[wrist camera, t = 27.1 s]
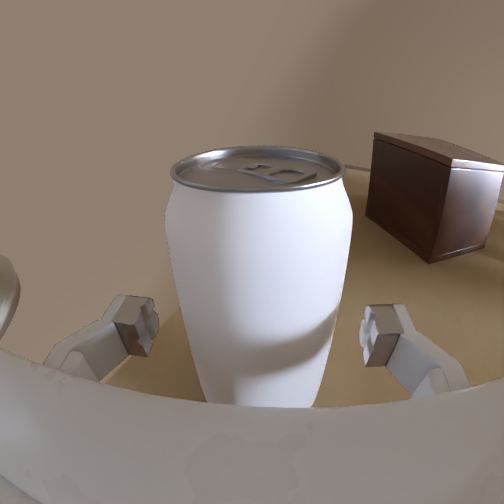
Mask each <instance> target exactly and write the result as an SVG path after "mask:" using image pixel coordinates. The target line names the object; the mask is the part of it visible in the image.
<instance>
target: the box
mask: <svg viewBox="0 0 504 504" xmlns="http://www.w3.org/2000/svg"><path fill="white" fill-rule="evenodd" d="M502 177H503V172H500V171H491V170H481V169H469V168H456V167H449V166H447V165H445V164H442V163H440V162H438V161H435V160H433V159H430V158H428V157H425V156H423V155H420V154H418V153H415V152H412V151H410V150H407V149H404V148H401V147H399V146H396V145H393V144H390V143H387V142H384V141H381V140H378V139H374V141H373V153H372V164H371V174H370V183H369V192H368V200H367V207H366V214H365V215H366V216H368V217H369V218H370V219H372V220H373V221H374V222H376V223H377V224H378V225H380V226H381V227H382V228H384V229H385V230H386V231H388V232H389V233H390V234H392V235H393V236H394V237H396V238H397V239H398V240H399V241H401V242H402V243H403V244H404V245H406V246H407V247H408V248H409V249H411V250H412V251H413V252H414V253H416V254H417V255H418V256H419V257H421V258H422V259H423V260H424V261H425V262H427V263H428V264H430V263H434V262H437V261H441V260H444V259H448V258H451V257H455V256H458V255H461V254H465V253H468V252H471V251H475V250H478V249H481V248H484V246H485V242H486V240H487V236H488V233H489V230H490V226H491V223H492V219H493V216H494V212H495V208H496V204H497V200H498V196H499V192H500V187H501V182H502Z"/></svg>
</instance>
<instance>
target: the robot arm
mask: <svg viewBox="0 0 504 504" xmlns="http://www.w3.org/2000/svg"><path fill="white" fill-rule="evenodd" d="M154 307H155V305H154V302H153V299H151V298H147V297H138V296H127V295H117V296H116V297H115V298H114V300H113V301H112V303H111V304H110V306H109V307H108V309H107V310H106V312H105V314H104V315H103V317H102V318H101V320H96V321H94V322H93V323H91V324H89V325H88V326H86V327H84V328H82V329H81V330H79V331H78V332H76V333H74V334H72V335H71V336H69V337H68V338H66V339H64V340H63V341H61V342H59V343H57V344H56V345H55V346H54V347H53V349H52V350H51V352H50V353H49V355H48V357H47V358H46V360H45V361H44V363H43V365H41V364H38V363H35V362H33V361H30V360H28V359H25V358H22V357H20V356H17V355H15V354H13V353H10V352H8V351H6V350H3V349H1V348H0V504H504V378H501V379H498V380H495V381H491V382H488V383H484V384H480V385H477V386H473V387H471V386H470V384H469V381H468V379H467V376H466V374H465V371H464V369H463V367H462V364H461V363H460V362H458V361H457V360H456V359H455V358H453V357H452V356H451V355H449V354H448V353H447V352H445V351H444V350H443V349H442V348H440V347H439V346H438V345H436V344H435V343H434V342H432V341H431V340H430V339H428V338H427V337H426V336H424V335H423V334H422V333H420V332H416V330H415V327H414V325H413V323H412V321H411V318H410V316H409V314H408V312H407V309H406V307H405V305H404V304H403V303H397V304H378V305H366V307H365V309H364V317H365V318H364V319H363V320H362V321H361V323H360V327H359V341H360V345H361V346H362V347H363V348H364V351H363V358H364V363H365V367H381V366H386V368H387V369H388V370H389V371H390V373H391V374H392V375H393V376H394V377H395V378H396V379H397V380H398V381H399V383H400V384H401V385H402V386H403V387H404V388H405V389H406V390H407V392H408V393H409V394H410V395H411V396H412V397H411V398H410V399H408V400H402V401H394V402H386V403H377V404H367V405H355V406H340V407H313V408H280V407H254V406H238V405H226V404H215V403H206V402H198V401H190V400H183V399H176V398H170V397H164V396H158V395H153V394H148V393H143V392H138V391H133V390H128V389H124V388H119V387H115V386H111V385H107V384H103V383H100V382H99V381H100V380H101V379H103V378H104V377H105V376H106V375H107V374H108V373H109V372H111V371H112V370H113V369H114V368H115V367H116V366H118V365H119V364H120V363H121V362H122V361H123V360H125V359H126V358H127V357H128V356H129V355H135V356H142V357H148V355H149V353H150V350H151V348H152V346H153V344H152V342H151V340H152V339H154V338H155V337H156V336H157V334H158V330H159V318H158V314H157V313H156V312H155V311H154V310H153V309H154Z"/></svg>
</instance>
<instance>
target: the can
mask: <svg viewBox="0 0 504 504" xmlns="http://www.w3.org/2000/svg"><path fill="white" fill-rule="evenodd" d="M344 174H345V166H344V164H343V163H342V162H341V161H339V160H338V159H336V158H334V157H332V156H330V155H327V154H324V153H320V152H317V151H313V150H307V149H301V148H294V147H284V146H239V147H229V148H222V149H215V150H210V151H206V152H202V153H198V154H195V155H191V156H189V157H186V158H184V159H182V160H180V161H178V162H177V163H175V164H174V165H173V166H172V168H171V170H170V175H171V177H172V178H173V179H174V185H173V189H172V192H171V195H170V198H169V201H168V204H167V208H166V211H165V230H166V237H167V244H168V249H169V255H170V260H171V265H172V270H173V276H174V281H175V285H176V290H177V295H178V299H179V304H180V308H181V313H182V317H183V321H184V325H185V329H186V333H187V337H188V341H189V345H190V349H191V353H192V356H193V360H194V364H195V367H196V371H197V374H198V378H199V381H200V384H201V387H202V391H203V394H204V396H205V399H206V401H207V403H215V404H226V405H238V406H254V407H280V408H310V407H311V405H312V404H313V402H314V400H315V398H316V396H317V393H318V390H319V387H320V383H321V380H322V376H323V373H324V369H325V365H326V361H327V357H328V353H329V349H330V345H331V341H332V337H333V333H334V328H335V324H336V319H337V314H338V310H339V305H340V300H341V295H342V289H343V284H344V279H345V273H346V267H347V261H348V254H349V248H350V241H351V232H352V219H353V214H352V209H351V205H350V202H349V199H348V196H347V194H346V191H345V189H344V186H343V182H342V177H343V175H344Z"/></svg>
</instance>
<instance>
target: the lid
mask: <svg viewBox="0 0 504 504" xmlns="http://www.w3.org/2000/svg"><path fill="white" fill-rule="evenodd" d="M374 138H375V139H378V140H381V141H384V142H387V143H390V144H393V145H396V146H399V147H401V148H404V149H407V150H410V151H412V152H415V153H418V154H420V155H423V156H425V157H428V158H430V159H433V160H435V161H438V162H440V163H442V164H445V165H447V166H449V167H456V168H469V169H481V170H491V171H500V172H504V164H502V163H500V162H498V161H495V160H493V159H491V158H488V157H486V156H483V155H481V154H479V153H476V152H474V151H471V150H468V149H466V148H463V147H460V146H458V145H455V144H452V143H449V142H446V141H443V140H441V139H434V138H428V137H420V136H412V135H404V134H393V133H383V132H374Z"/></svg>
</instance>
